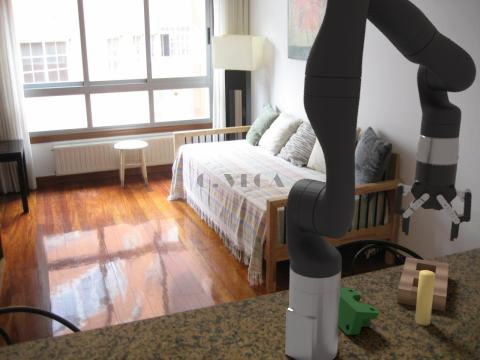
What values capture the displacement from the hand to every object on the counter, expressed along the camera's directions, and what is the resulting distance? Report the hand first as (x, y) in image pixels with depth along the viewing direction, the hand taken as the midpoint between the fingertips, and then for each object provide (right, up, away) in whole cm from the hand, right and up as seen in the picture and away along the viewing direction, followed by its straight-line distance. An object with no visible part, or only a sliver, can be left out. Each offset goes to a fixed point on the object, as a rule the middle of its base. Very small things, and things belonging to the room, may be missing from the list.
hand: (428, 237), depth 104 cm
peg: (0, -18, +4) cm, 18 cm away
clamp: (-15, -18, +4) cm, 24 cm away
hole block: (+5, -14, +18) cm, 23 cm away
